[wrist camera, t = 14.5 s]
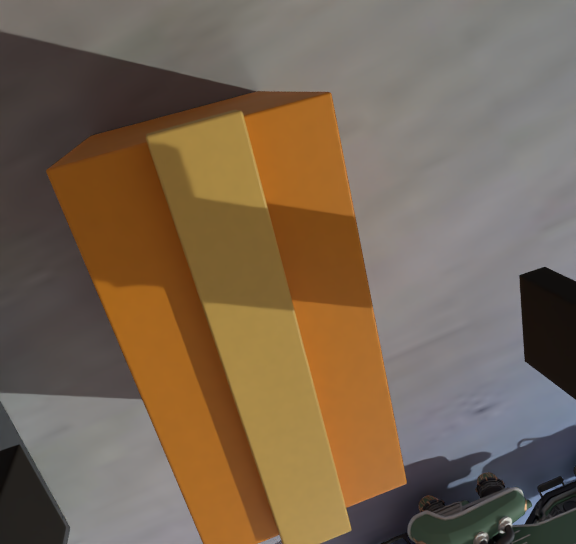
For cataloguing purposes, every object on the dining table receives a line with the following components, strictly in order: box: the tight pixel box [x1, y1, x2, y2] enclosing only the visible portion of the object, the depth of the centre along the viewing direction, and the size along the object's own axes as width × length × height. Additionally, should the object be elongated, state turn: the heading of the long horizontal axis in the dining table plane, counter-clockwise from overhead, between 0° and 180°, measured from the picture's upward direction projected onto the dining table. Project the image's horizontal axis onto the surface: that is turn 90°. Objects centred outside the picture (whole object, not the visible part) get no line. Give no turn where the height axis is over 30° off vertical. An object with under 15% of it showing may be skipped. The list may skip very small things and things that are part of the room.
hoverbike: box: [381, 466, 576, 544], centre depth 32 cm, size 10×25×8 cm, turn 106°
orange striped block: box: [46, 91, 407, 544], centre depth 20 cm, size 14×8×11 cm, turn 14°
